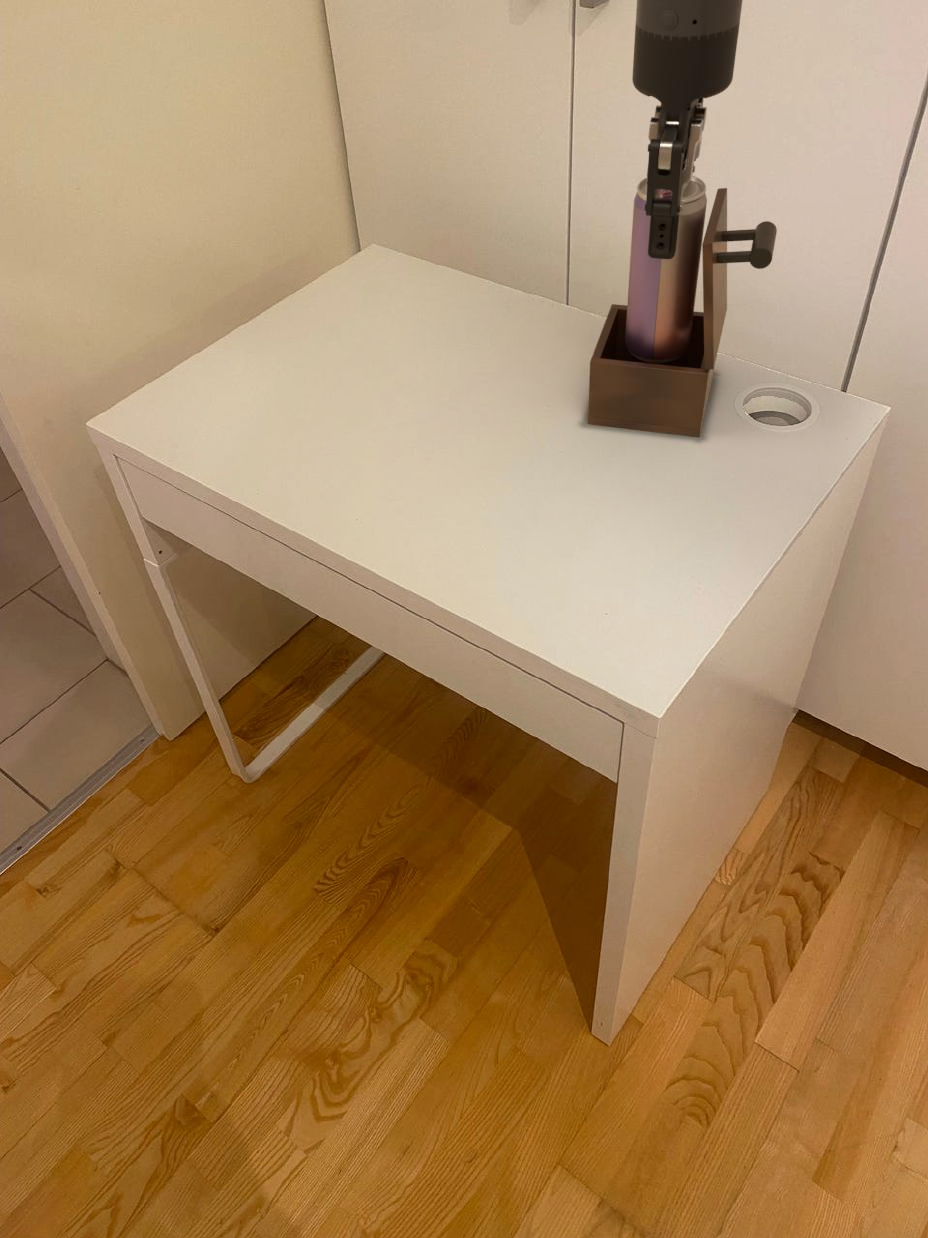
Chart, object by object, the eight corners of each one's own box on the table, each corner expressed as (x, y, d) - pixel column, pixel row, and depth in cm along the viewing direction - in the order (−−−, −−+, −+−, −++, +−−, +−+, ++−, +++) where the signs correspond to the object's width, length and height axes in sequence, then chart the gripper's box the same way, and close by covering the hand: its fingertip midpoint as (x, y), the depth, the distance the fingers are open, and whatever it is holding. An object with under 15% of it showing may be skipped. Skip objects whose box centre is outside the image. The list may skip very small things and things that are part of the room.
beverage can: (619, 361, 88) (629, 199, 78) (630, 328, 92) (641, 169, 81) (684, 368, 87) (703, 204, 76) (693, 334, 91) (712, 173, 80)
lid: (702, 243, 76) (770, 240, 74) (717, 188, 83) (780, 183, 81) (704, 369, 84) (766, 368, 82) (718, 309, 91) (775, 307, 89)
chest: (587, 423, 92) (589, 361, 87) (608, 364, 99) (611, 303, 94) (699, 437, 89) (708, 374, 84) (713, 375, 96) (722, 313, 91)
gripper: (729, 48, 64) (700, 282, 76) (749, -13, 74) (721, 205, 86) (618, 45, 66) (608, 275, 78) (652, -13, 75) (637, 200, 88)
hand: (667, 238), depth 82 cm, fingers closed on beverage can, 6 cm apart
